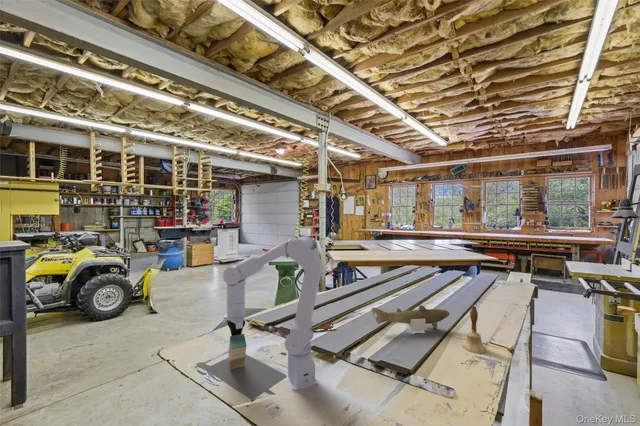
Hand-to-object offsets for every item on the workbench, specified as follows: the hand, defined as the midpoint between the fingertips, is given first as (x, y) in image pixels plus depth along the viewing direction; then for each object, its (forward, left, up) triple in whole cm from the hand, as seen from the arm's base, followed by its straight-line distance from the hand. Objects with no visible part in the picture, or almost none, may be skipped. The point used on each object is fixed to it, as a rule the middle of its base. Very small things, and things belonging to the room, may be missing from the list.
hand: (236, 341), depth 96 cm
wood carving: (-4, -72, -9) cm, 73 cm away
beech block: (0, 0, -7) cm, 7 cm away
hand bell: (-25, -84, -9) cm, 88 cm away
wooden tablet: (+18, -32, -9) cm, 38 cm away
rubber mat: (-6, -2, -8) cm, 10 cm away
